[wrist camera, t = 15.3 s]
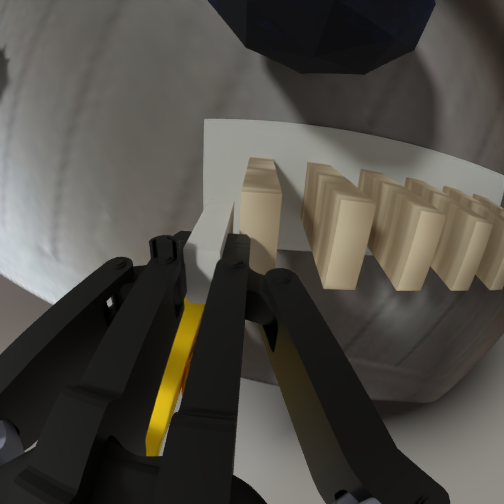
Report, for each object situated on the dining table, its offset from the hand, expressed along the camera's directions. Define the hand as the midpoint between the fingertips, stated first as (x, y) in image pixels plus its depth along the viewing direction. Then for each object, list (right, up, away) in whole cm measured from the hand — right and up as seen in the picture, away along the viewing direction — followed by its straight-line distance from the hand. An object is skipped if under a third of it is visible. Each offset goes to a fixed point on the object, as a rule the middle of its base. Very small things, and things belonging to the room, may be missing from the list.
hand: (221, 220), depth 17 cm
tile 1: (+3, +4, +7) cm, 8 cm away
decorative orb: (+6, +19, 0) cm, 20 cm away
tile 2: (+8, +3, +7) cm, 11 cm away
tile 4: (+18, +3, +7) cm, 19 cm away
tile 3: (+13, +3, +7) cm, 15 cm away
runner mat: (+15, +3, +7) cm, 17 cm away
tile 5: (+23, +2, +7) cm, 24 cm away
